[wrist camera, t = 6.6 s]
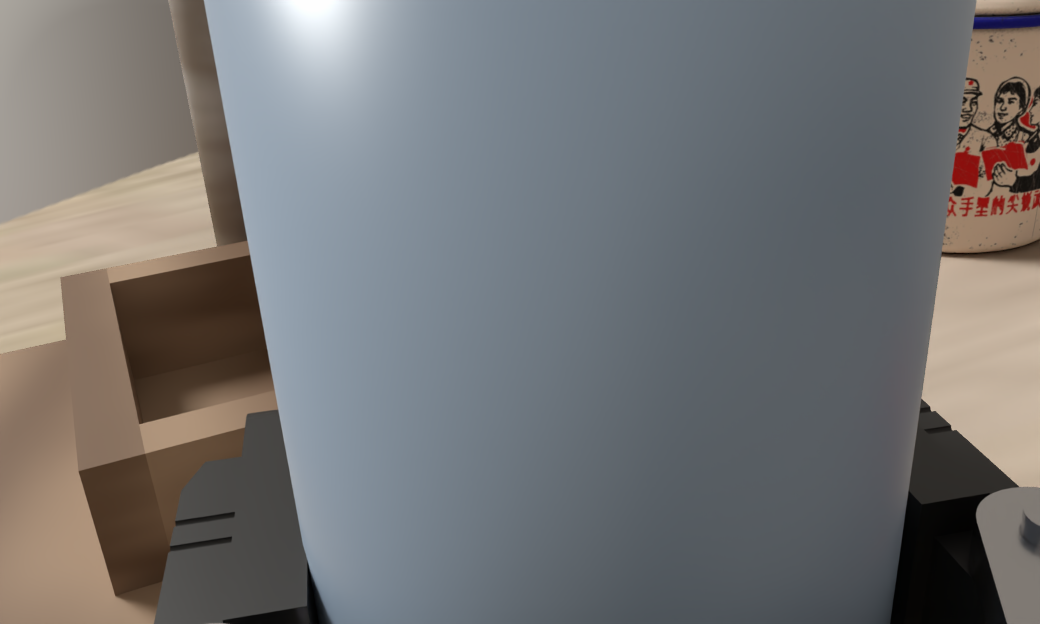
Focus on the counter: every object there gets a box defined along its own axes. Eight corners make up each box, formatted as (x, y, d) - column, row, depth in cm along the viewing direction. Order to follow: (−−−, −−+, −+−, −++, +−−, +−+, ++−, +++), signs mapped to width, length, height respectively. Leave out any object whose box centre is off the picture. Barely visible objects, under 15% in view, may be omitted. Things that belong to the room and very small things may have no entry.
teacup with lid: (828, 256, 37) (857, -76, 32) (812, 180, 45) (833, -96, 40) (1184, 264, 35) (1274, -93, 30) (1100, 182, 43) (1161, -110, 38)
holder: (479, 288, 36) (436, -263, 29) (743, 530, 23) (792, -376, 15) (0, 399, 31) (-209, -251, 23) (-17, 807, 17) (-524, -412, 10)
